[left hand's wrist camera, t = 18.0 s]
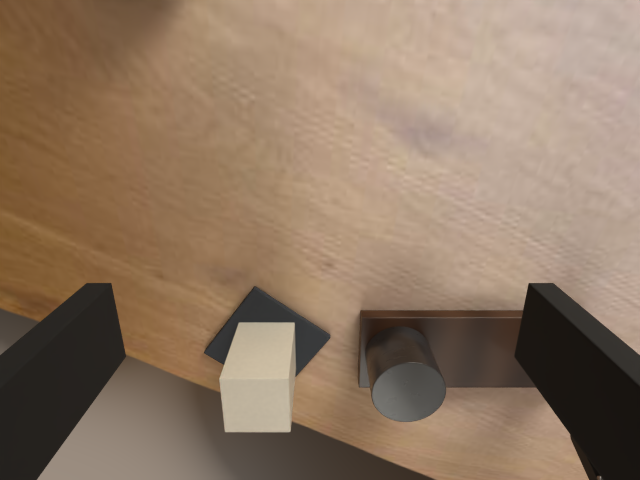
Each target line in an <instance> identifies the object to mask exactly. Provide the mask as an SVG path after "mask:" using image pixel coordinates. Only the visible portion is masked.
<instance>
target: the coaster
mask: <svg viewBox="0 0 640 480" xmlns="http://www.w3.org/2000/svg"><path fill="white" fill-rule="evenodd" d="M239 322H294V323H295V352H296V373H295V377H296V376H297V375H298V374H299V372H300V371H301V370H302V369H303V368H304V367H305V366H306V365H307V363H308V362H309V361H310V360H311V359H312V358H313V357H314V356H315V355H316V353H317V352H318V351H319V350H320V349H321V348H322V347H323V346H324V344H325V343H326V342H327V341H328V340H329V339H330V335H329V334H328V333H326V332H325V331H323V330H322V329H320V328H319V327H317V326H316V325H314V324H313V323H311V322H309V321H308V320H306V319H305V318H303V317H302V316H300V315H299V314H297V313H296V312H294V311H292V310H291V309H289V308H288V307H286V306H285V305H283V304H282V303H280V302H279V301H277V300H275V299H274V298H272V297H271V296H269V295H268V294H266V293H265V292H263V291H262V290H260V289H258V288H257V287H254V288H253V289H252V290H251V292H250V293H249V294H248V296H247V297H246V298H245V299H244V301H243V302H242V303H241V305H240V306H239V307H238V308H237V310H236V311H235V312H234V314H233V315H232V316H231V317H230V319H229V320H228V321H227V323H226V324H225V325H224V326H223V328H222V329H221V330H220V332H219V333H218V334H217V335H216V337H215V338H214V339H213V341H212V342H211V343H210V344H209V346H208V347H207V348H206V350H205V352H204V353H205V354H206V355H208V356H210V357H212V358H213V359H215V360H217V361H218V362H220V363H222V364H225V361H226V358H227V355H228V352H229V349H230V347H231V344H232V341H233V338H234V335H235V332H236V329H237V326H238V324H239Z"/></svg>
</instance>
